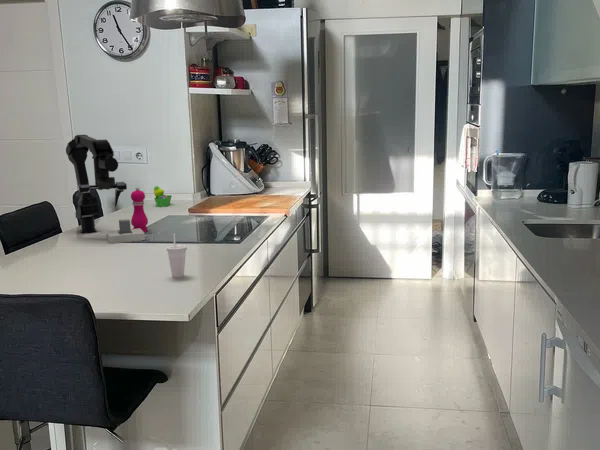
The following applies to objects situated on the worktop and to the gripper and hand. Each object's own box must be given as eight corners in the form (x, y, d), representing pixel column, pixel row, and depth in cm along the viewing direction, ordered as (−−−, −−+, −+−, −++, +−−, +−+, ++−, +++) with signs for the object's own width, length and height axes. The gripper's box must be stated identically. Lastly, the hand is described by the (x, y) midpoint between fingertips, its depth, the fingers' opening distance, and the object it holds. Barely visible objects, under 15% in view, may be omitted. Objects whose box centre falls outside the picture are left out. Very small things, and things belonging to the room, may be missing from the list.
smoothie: (169, 273, 195) (166, 231, 193) (189, 273, 196) (187, 231, 193) (166, 279, 189) (164, 235, 186) (187, 278, 189) (185, 235, 187)
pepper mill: (144, 233, 261) (141, 187, 258) (128, 233, 263) (125, 187, 259) (151, 230, 268) (148, 185, 265) (136, 229, 270) (133, 185, 266)
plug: (120, 238, 251) (118, 218, 249) (130, 238, 252) (128, 217, 251) (121, 240, 247) (119, 220, 246) (131, 239, 249) (129, 219, 247)
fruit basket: (168, 207, 334) (166, 187, 332) (152, 207, 334) (150, 187, 332) (172, 204, 345) (171, 184, 343) (157, 204, 345) (156, 184, 343)
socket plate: (106, 238, 253) (106, 230, 252) (140, 235, 258) (140, 228, 257) (109, 243, 242) (109, 236, 241) (144, 240, 247) (144, 233, 247)
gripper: (78, 173, 237) (81, 211, 240) (127, 170, 245) (129, 208, 247) (77, 170, 247) (80, 208, 250) (123, 168, 255) (126, 204, 258)
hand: (104, 207), depth 251 cm, fingers open, 9 cm apart
